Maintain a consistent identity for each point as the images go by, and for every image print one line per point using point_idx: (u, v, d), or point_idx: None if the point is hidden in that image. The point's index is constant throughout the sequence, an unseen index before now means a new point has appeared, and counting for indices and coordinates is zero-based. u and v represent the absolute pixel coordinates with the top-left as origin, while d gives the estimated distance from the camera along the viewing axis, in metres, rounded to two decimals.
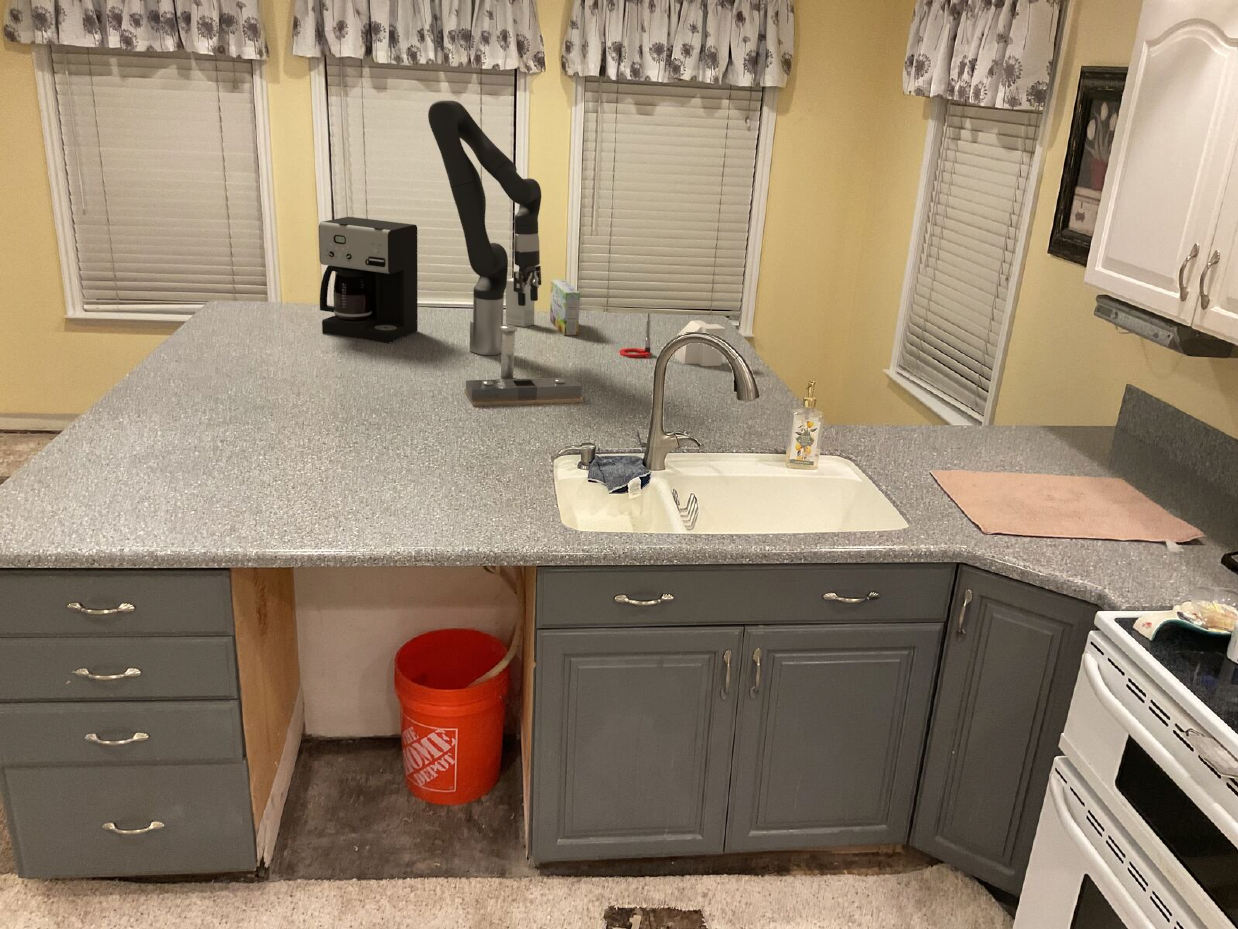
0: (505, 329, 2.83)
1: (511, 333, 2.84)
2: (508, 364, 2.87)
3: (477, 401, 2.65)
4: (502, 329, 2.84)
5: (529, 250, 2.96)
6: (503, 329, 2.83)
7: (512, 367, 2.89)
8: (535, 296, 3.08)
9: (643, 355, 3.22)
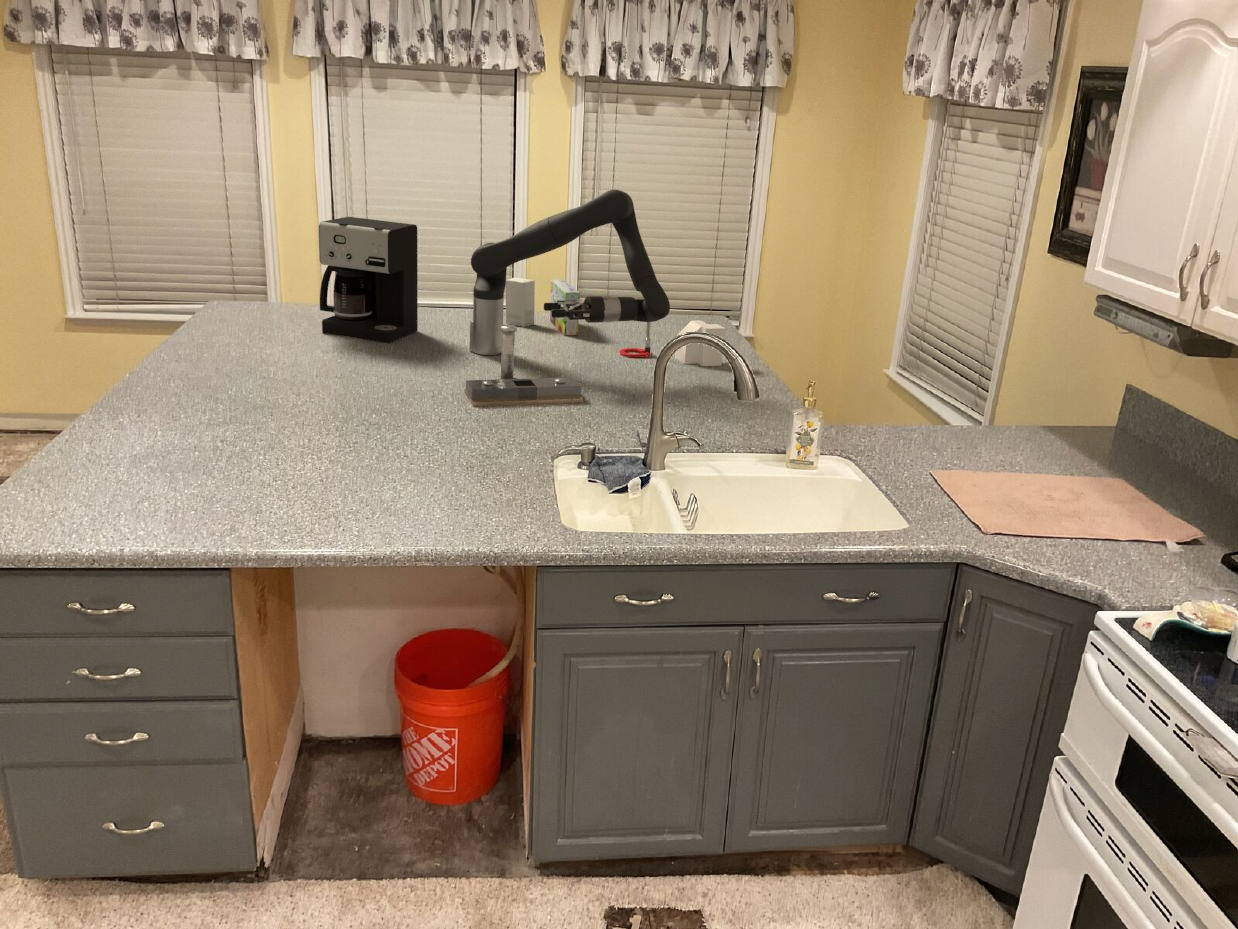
0: (505, 329, 2.83)
1: (511, 333, 2.84)
2: (508, 364, 2.87)
3: (477, 401, 2.65)
4: (502, 329, 2.84)
5: (604, 319, 2.91)
6: (503, 329, 2.83)
7: (512, 367, 2.89)
8: (548, 309, 2.91)
9: (643, 355, 3.22)
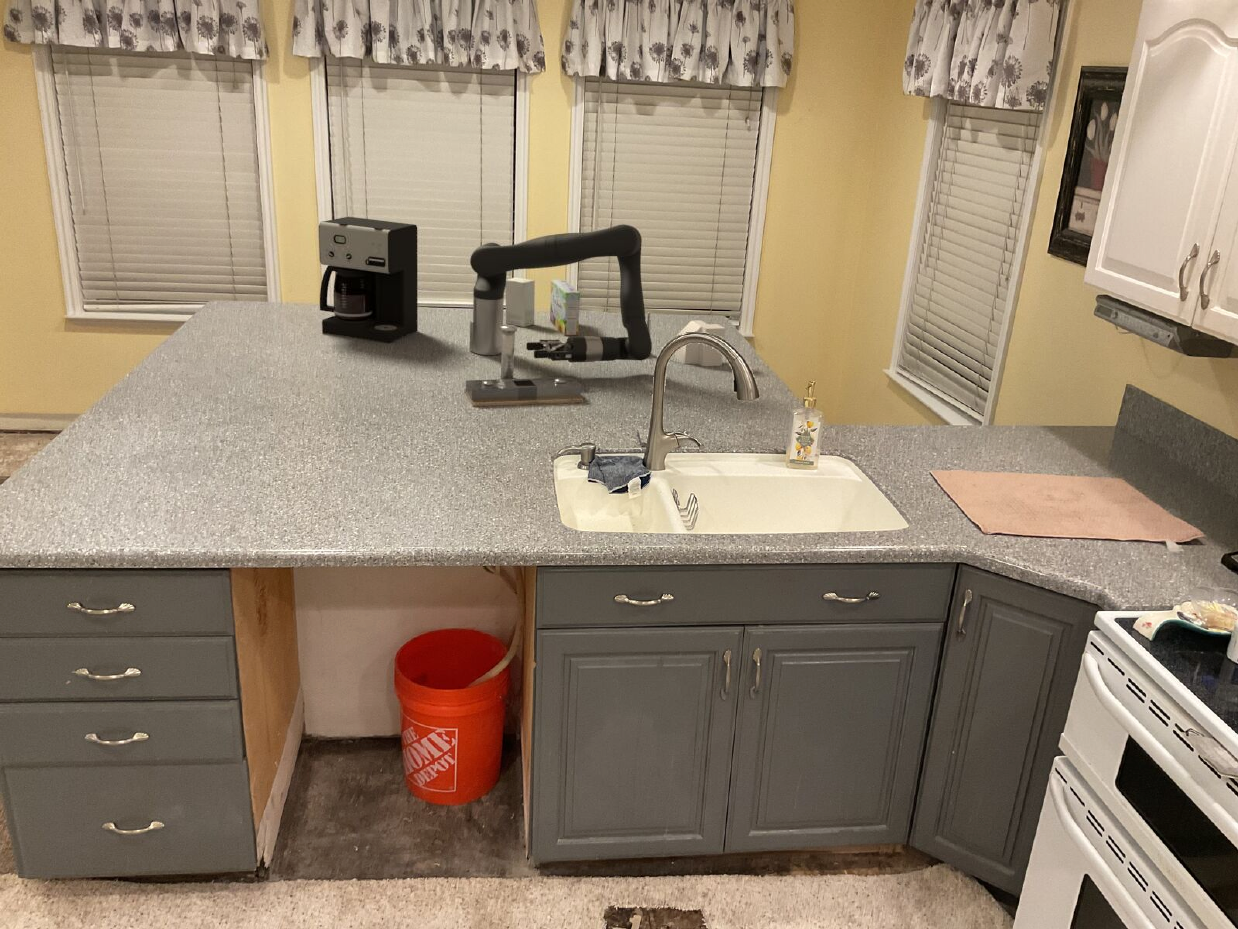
0: (505, 329, 2.83)
1: (511, 333, 2.84)
2: (508, 364, 2.87)
3: (477, 401, 2.65)
4: (502, 329, 2.84)
5: (586, 359, 2.93)
6: (503, 329, 2.83)
7: (512, 367, 2.89)
8: (531, 348, 2.94)
9: None
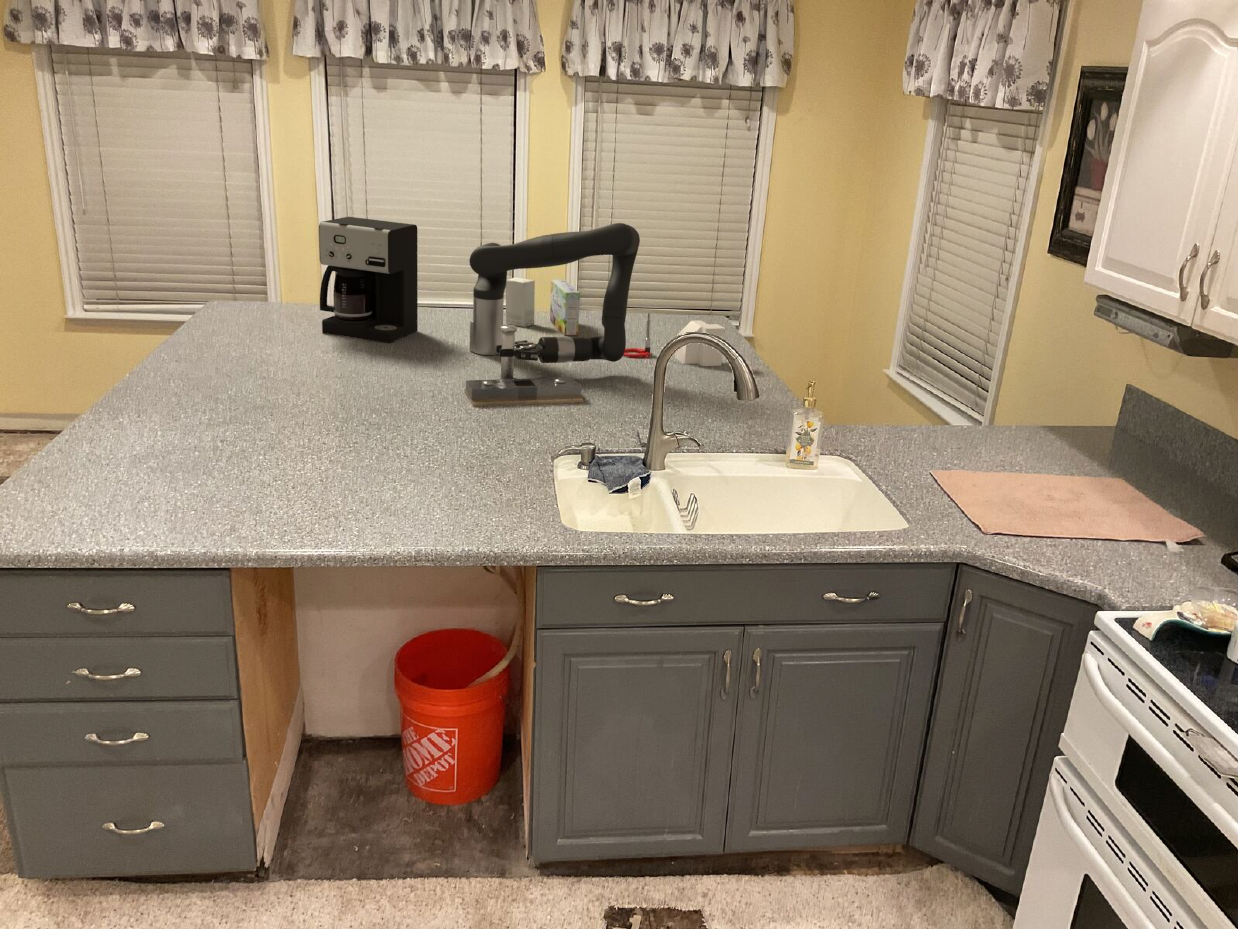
0: (505, 329, 2.83)
1: (511, 333, 2.84)
2: (508, 364, 2.87)
3: (477, 401, 2.65)
4: (502, 329, 2.84)
5: (558, 360, 2.91)
6: (503, 329, 2.83)
7: (512, 367, 2.89)
8: None
9: (643, 355, 3.22)
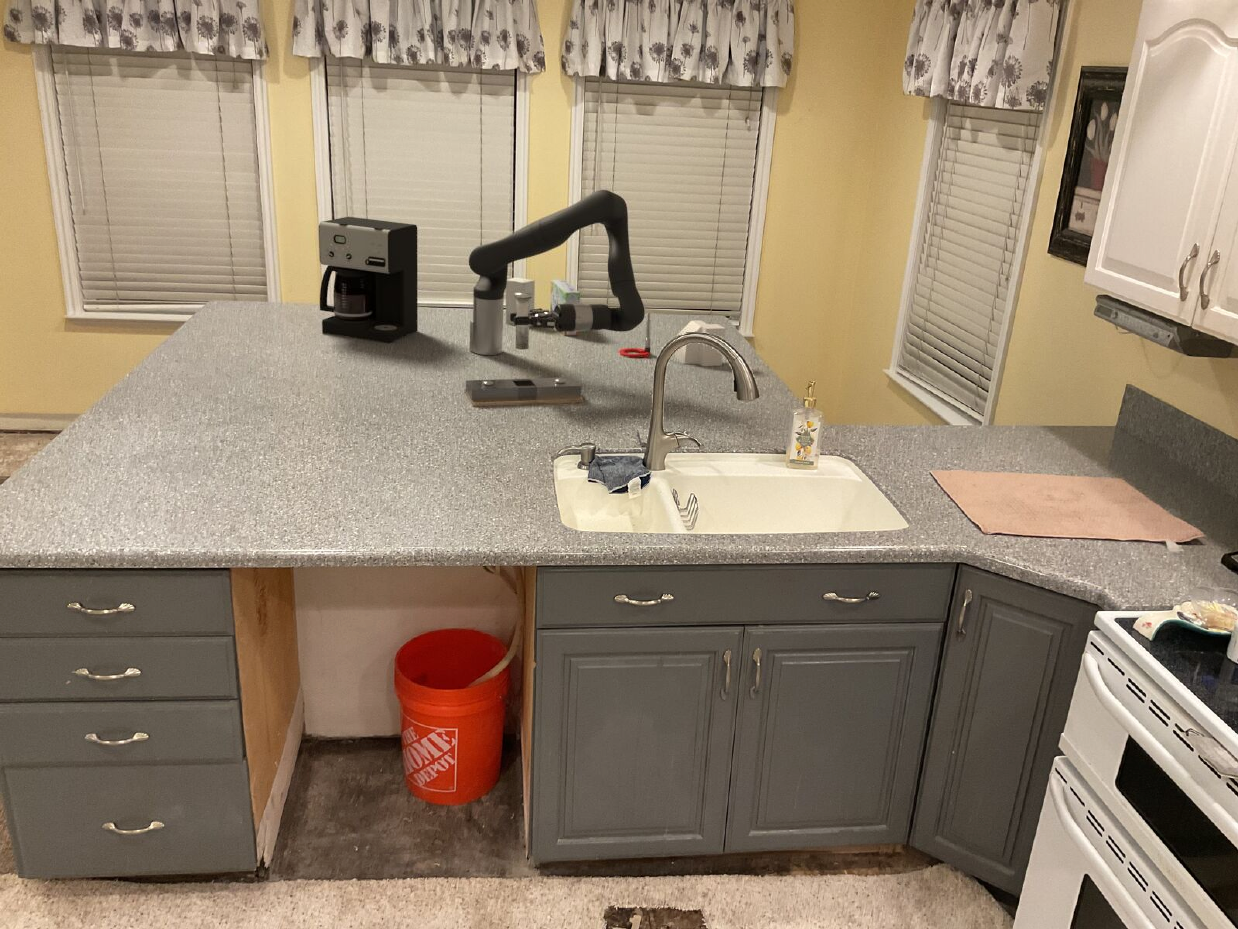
0: (520, 295, 2.69)
1: (526, 300, 2.70)
2: (523, 333, 2.73)
3: (477, 401, 2.65)
4: (516, 296, 2.69)
5: (576, 328, 2.76)
6: (517, 296, 2.69)
7: (527, 337, 2.74)
8: None
9: (643, 355, 3.22)
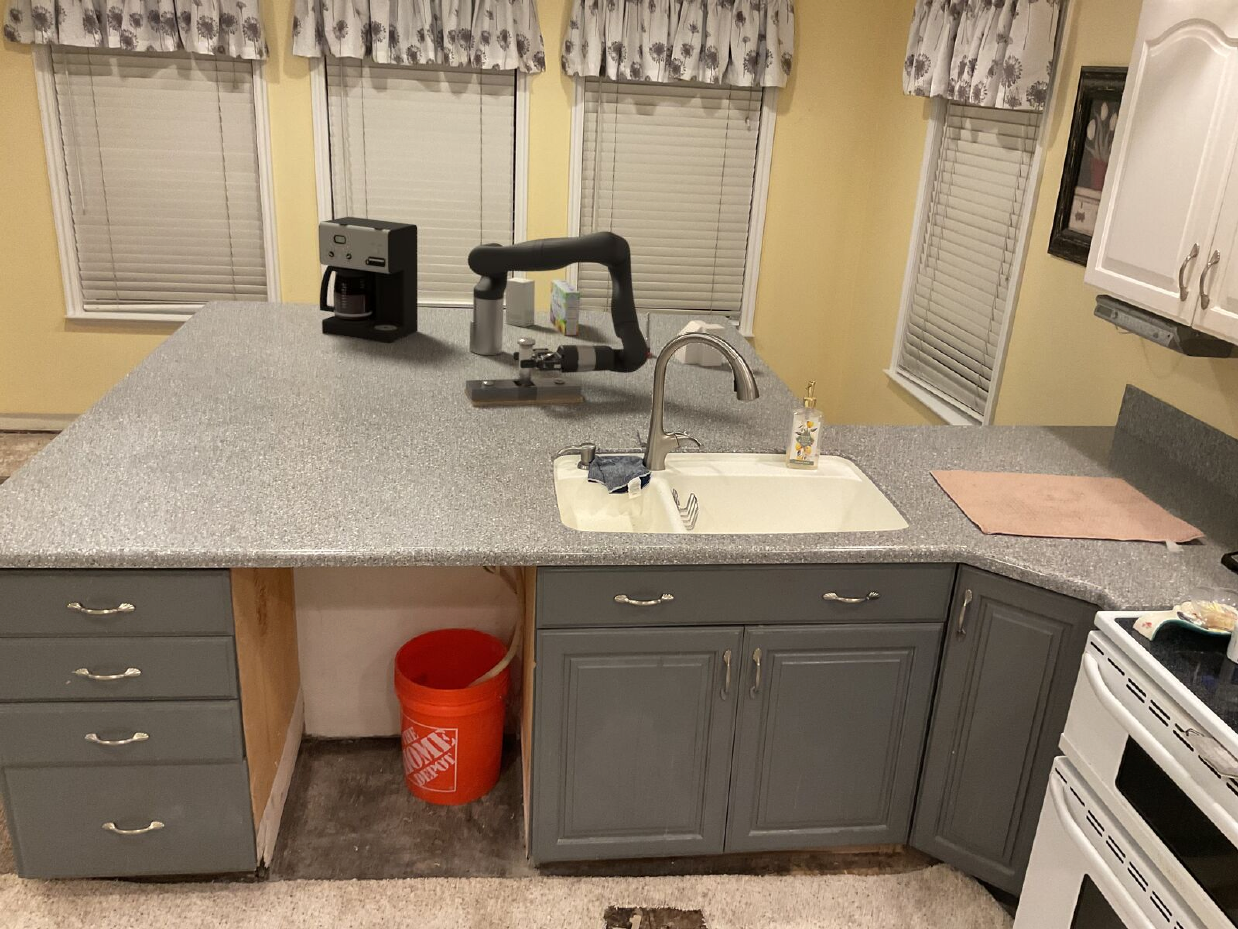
0: (523, 342, 2.67)
1: (529, 347, 2.68)
2: (525, 379, 2.71)
3: (477, 401, 2.65)
4: (519, 342, 2.67)
5: (578, 369, 2.74)
6: (521, 342, 2.67)
7: (530, 383, 2.72)
8: (518, 358, 2.74)
9: None
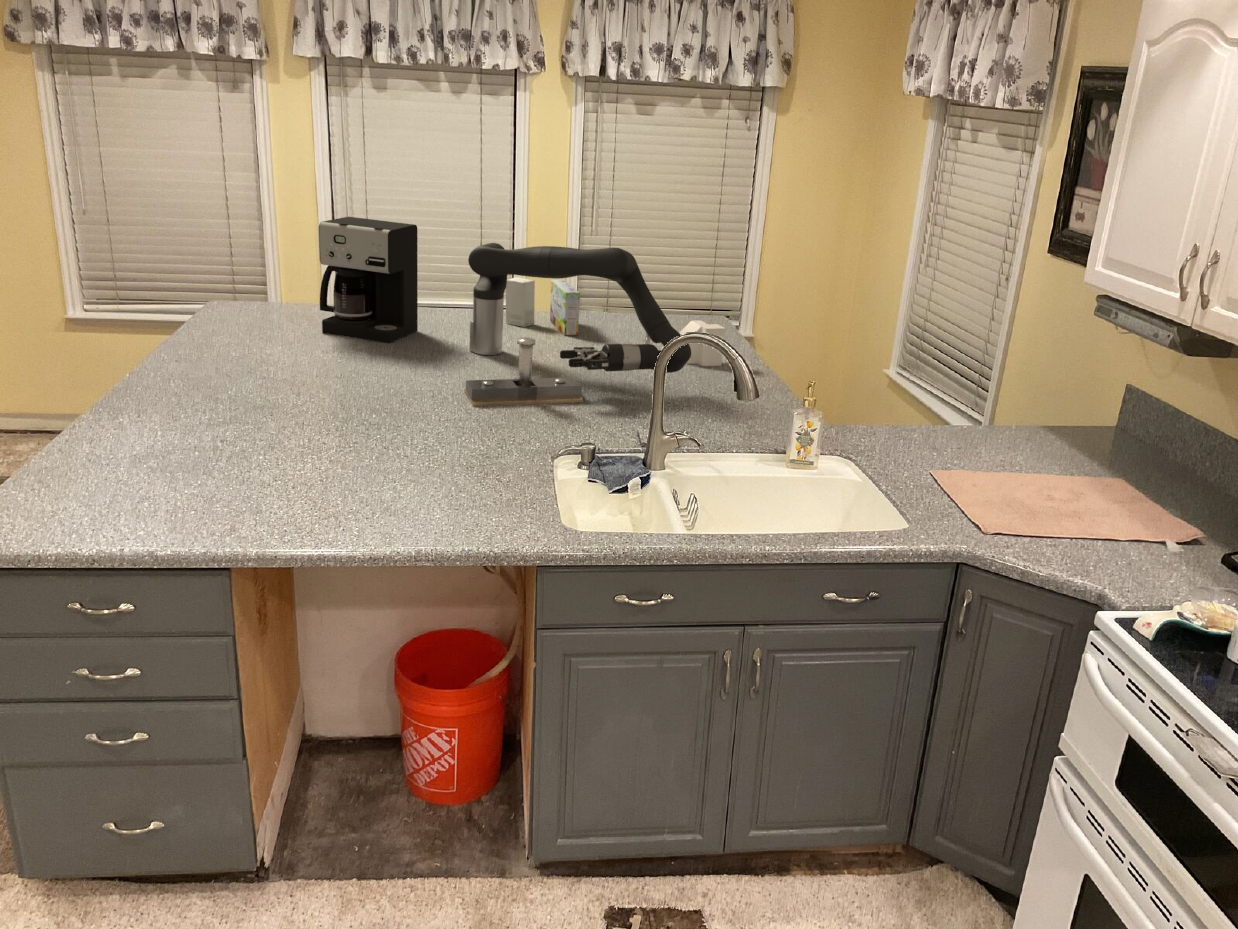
0: (523, 342, 2.67)
1: (529, 347, 2.68)
2: (525, 379, 2.71)
3: (477, 401, 2.65)
4: (519, 342, 2.67)
5: (623, 368, 2.78)
6: (520, 342, 2.67)
7: (530, 383, 2.72)
8: (565, 357, 2.78)
9: None
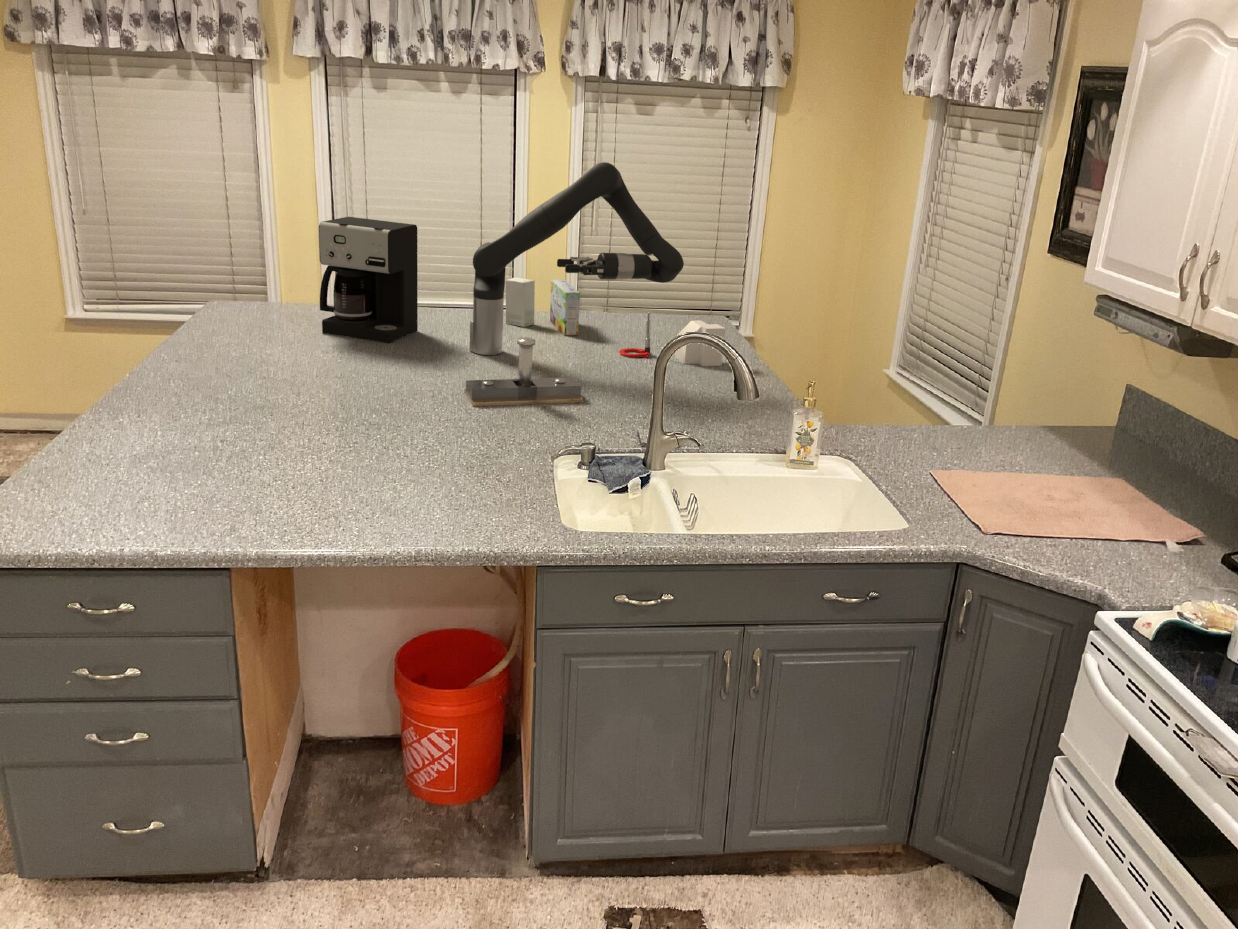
0: (523, 342, 2.67)
1: (529, 347, 2.68)
2: (525, 379, 2.71)
3: (477, 401, 2.65)
4: (519, 342, 2.67)
5: (618, 276, 2.89)
6: (520, 342, 2.67)
7: (530, 383, 2.72)
8: (562, 265, 2.89)
9: (643, 355, 3.22)
